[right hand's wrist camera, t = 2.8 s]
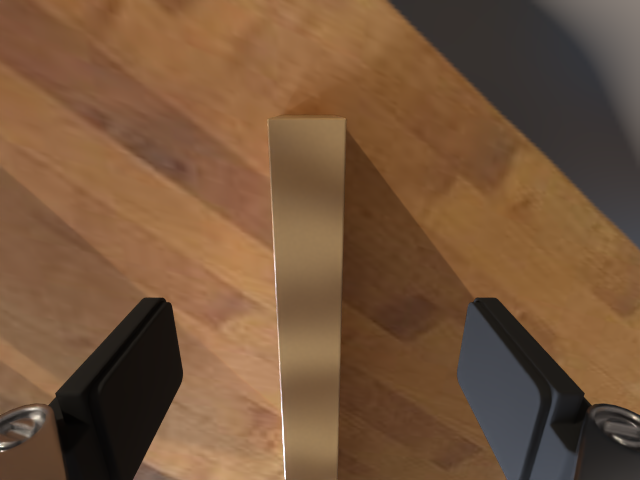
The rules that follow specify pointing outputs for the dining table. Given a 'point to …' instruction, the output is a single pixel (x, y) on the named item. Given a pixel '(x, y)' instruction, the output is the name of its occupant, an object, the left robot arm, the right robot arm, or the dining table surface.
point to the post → (308, 285)
